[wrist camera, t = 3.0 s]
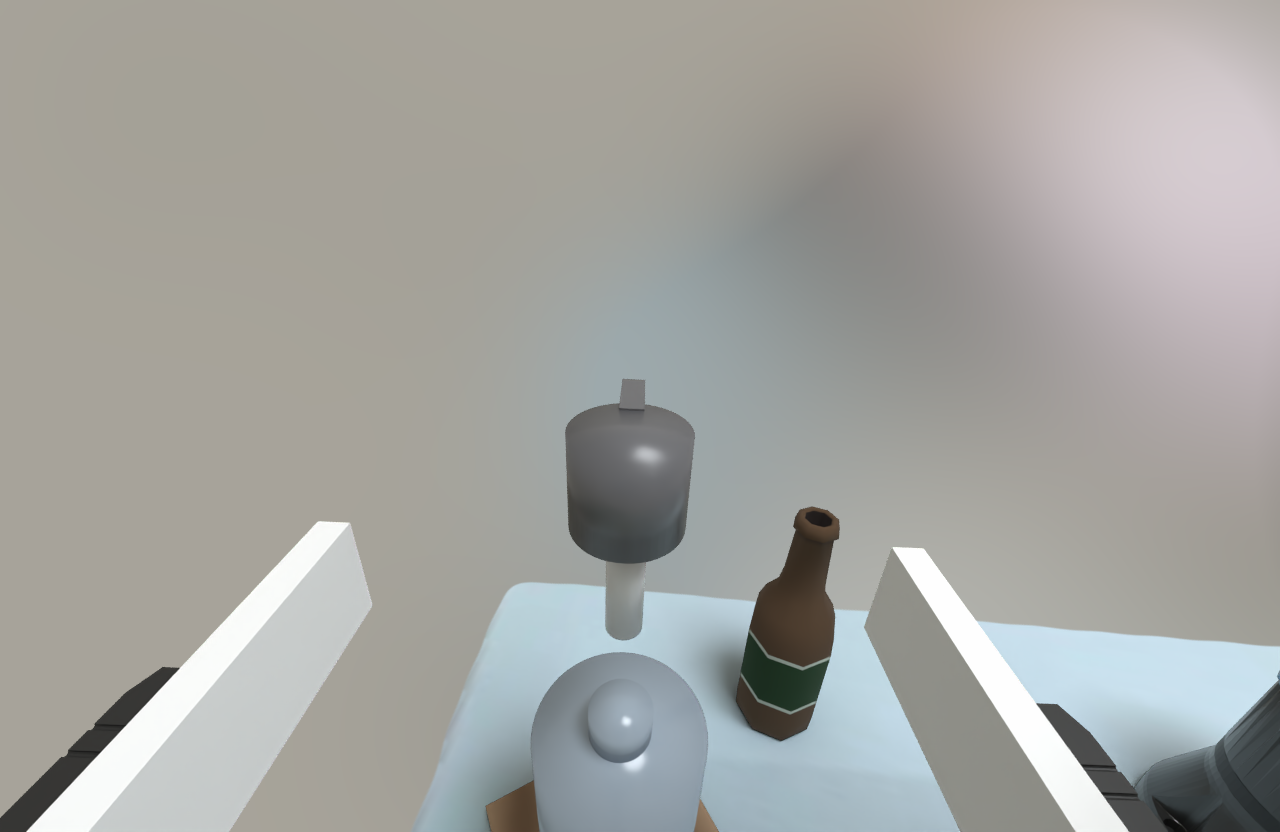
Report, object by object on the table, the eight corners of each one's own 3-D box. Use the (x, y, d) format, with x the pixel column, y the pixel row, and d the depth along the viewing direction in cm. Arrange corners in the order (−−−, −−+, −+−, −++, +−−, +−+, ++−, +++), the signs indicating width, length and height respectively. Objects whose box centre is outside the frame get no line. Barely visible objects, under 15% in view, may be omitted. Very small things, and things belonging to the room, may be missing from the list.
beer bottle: (718, 703, 51) (751, 515, 40) (760, 657, 56) (799, 479, 45) (786, 761, 46) (843, 565, 35) (825, 705, 51) (886, 519, 40)
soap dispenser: (642, 753, 45) (652, 611, 37) (716, 892, 36) (749, 748, 28) (524, 820, 40) (506, 673, 32) (577, 1000, 32) (570, 862, 23)
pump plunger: (632, 547, 32) (639, 376, 27) (703, 639, 26) (731, 441, 21) (542, 579, 30) (530, 394, 24) (598, 690, 24) (598, 476, 18)
